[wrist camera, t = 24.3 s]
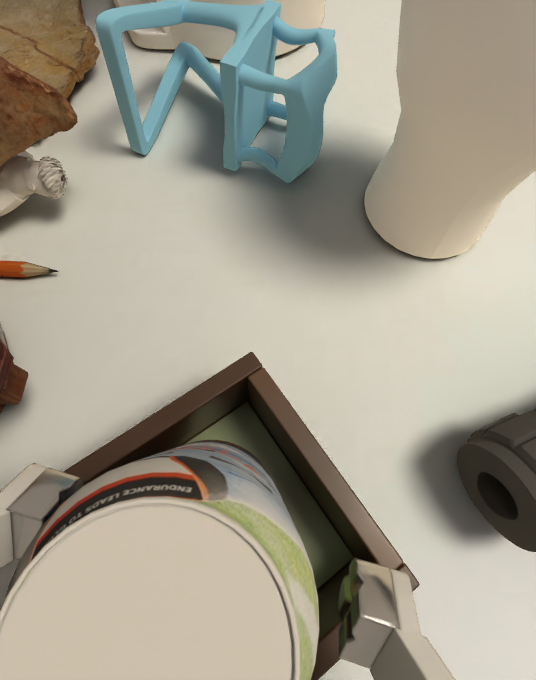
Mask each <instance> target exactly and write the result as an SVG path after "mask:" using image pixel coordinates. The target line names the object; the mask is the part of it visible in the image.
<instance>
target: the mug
mask: <svg viewBox="0 0 536 680" xmlns="http://www.w3.org/2000/svg"><path fill="white" fill-rule="evenodd" d="M27 378H28V372H26V371H25V370H23V369H21V368H20V367H18V366H16V365H14V364H13V356H12V355H11V353H10V352H9V349H8V345H7V342H6V338H5V335H4V332H3V331H2V328H1V324H0V413H1V411H2V409H3V407H4V405H5V404H18V403H19V402H20V401H21V398H22V395H23V391H24V388H25V385H26V381H27Z"/></svg>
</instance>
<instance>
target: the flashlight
mask: <svg viewBox="0 0 536 680" xmlns="http://www.w3.org/2000/svg"><path fill="white" fill-rule="evenodd" d="M457 465H458V470H459V473H460V477H461V479H462V482H463V484H464V486H465V488H466V490H467V492H468V494H469V495H470V497H471V499H472V500H473V502H474V503H475V505H476V507H477V508H478V509H479V511H480V512H481V513H482V514H483V516H484V517H485V518H486V519H487V520H488V521H489V523H490V524H491V525H492V526H493V527H494V528H495V529H496V530H497V531H498V532H499V533H501V534H502V535H503V536H504V537H505V538H507V539H508V540H509V541H511V542H512V543H513V544H515V545H517V546H518V547H520V548H522V549H525V550H528V551H532V552H536V410H534V411H532V412H530V413H528V414H520V415H519V414H516V413H514V414H511V415H508V416H506V417H504V418H502V419H500V420H498V421H496V422H494V423H492V424H490V425H488V426H486V427H484V428H482V429H480V430H478V431H476V432H474V433H473V434H472V435H471V437H470V439H469V440H468V442H467V444H465V445H463V446H462V447H461V448H460V449H459V451H458V454H457Z"/></svg>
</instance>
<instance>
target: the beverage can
mask: <svg viewBox="0 0 536 680" xmlns="http://www.w3.org/2000/svg"><path fill="white" fill-rule="evenodd" d="M318 637H319V608H318V595H317V590H316V585H315V580H314V574H313V569H312V566H311V563H310V561H309V558H308V555H307V552H306V550H305V547H304V544H303V542H302V539H301V537H300V535H299V533H298V531H297V529H296V527H295V525H294V523H293V521H292V519H291V516H290V514H289V512H288V510H287V508H286V506H285V504H284V502H283V500H282V498H281V496H280V493H279V491H278V489H277V487H276V485H275V483H274V481H273V479H272V477H271V475H270V474H269V472H268V470H267V469H266V467H265V466H264V465H263V464H262V463H261V461H260V460H259V459H258V458H257V457H255V456H254V455H253V454H252V453H251V452H249V451H248V450H246V449H244V448H243V447H241V446H239V445H236V444H233V443H231V442H227V441H221V440H201V441H196V442H192V443H189V444H186V445H183V446H179V447H176V448H173V449H170V450H167V451H164V452H161V453H158V454H155V455H152V456H149V457H146V458H143V459H140V460H137V461H134V462H131V463H128V464H126V465H123V466H121V467H118V468H115V469H113V470H110V471H108V472H106V473H104V474H103V475H101V476H99V477H98V478H96V479H94V480H92V481H91V482H89V483H87V484H86V485H84V486H83V487H81V488H80V489H79V490H78V491H77V492H75V493H74V494H73V495H72V496H71V497H69V498H68V499H67V500H66V501H64V502H63V503H62V504H61V505H60V506H59V507H58V508H57V509H56V511H55V512H54V513H53V514H52V515H51V516H50V517H49V518H48V520H47V521H46V522H45V523H44V524H43V525H42V526H41V527H40V529H39V530H38V532H37V534H36V535H35V537H34V538H33V540H32V541H31V543H30V544H29V546H28V547H27V549H26V551H25V552H24V554H23V555H22V557H21V560H20V562H19V564H18V566H17V568H16V571H15V573H14V575H13V577H12V579H11V582H10V584H9V586H8V590H7V593H6V597H5V600H4V604H3V606H2V609H1V611H0V680H311V677H312V673H313V670H314V666H315V662H316V653H317V645H318Z"/></svg>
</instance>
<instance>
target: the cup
mask: <svg viewBox="0 0 536 680" xmlns="http://www.w3.org/2000/svg"><path fill="white" fill-rule="evenodd" d="M396 72H397V80H398V87H399V95H400V103H401V114H400V118H399V122H398V126H397V130H396V134H395V138H394V142H393V144H392V145H391V147H390V149H389V150H388V152H387V153H386V155H385V156H384V158H383V159H382V161H381V163H380V164H379V166H378V168H377V169H376V171H375V173H374V175H373V177H372V179H371V181H370V183H369V185H368V187H367V189H366V192H365V200H364V204H365V209H366V214H367V217H368V219H369V220H370V222H371V224H372V226H373V228H374V229H375V230H376V231H377V232H378V234H379V235H380V236H381V237H382V238H383V239H384V240H385V241H387V242H388V243H390V244H391V245H392V246H394V247H395V248H397V249H399V250H401V251H403V252H406V253H408V254H411V255H413V256H418V257H423V258H429V259H437V258H449V257H452V256H455V255H459V254H462V253H463V252H465V251H466V250H468V249H469V248H471V247H472V246H473V245H474V244H475V243H476V242H477V240H478V239H479V238H480V237H481V235H482V234H483V232H484V231H485V229H486V228H487V226H488V225H489V223H490V222H491V220H492V218H493V217H494V215H495V213H496V212H497V210H498V208H499V206H500V205H501V203H502V201H503V199H504V198H505V196H506V195H507V194H509V193H510V192H511V191H512V190H513V189H514V188H515V187H517V186H518V185H519V184H520V183H521V182H522V181H523V180H525V179H526V178H527V177H528V176H529V175H530V174H531V173H533V172H534V171H536V0H402V5H401V14H400V28H399V42H398V56H397V70H396Z"/></svg>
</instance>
